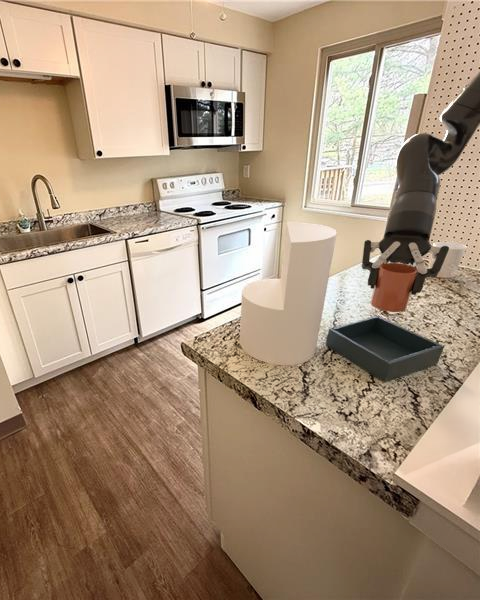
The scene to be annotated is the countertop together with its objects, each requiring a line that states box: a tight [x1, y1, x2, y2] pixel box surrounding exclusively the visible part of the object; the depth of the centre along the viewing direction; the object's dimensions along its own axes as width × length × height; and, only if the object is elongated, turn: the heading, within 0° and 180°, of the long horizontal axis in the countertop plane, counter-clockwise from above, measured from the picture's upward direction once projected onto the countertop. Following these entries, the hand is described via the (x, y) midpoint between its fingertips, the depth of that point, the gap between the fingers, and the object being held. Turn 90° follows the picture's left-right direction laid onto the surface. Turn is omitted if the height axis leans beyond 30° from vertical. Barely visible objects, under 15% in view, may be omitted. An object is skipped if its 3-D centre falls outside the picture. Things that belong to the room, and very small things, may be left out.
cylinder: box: [239, 221, 338, 366], centre depth 70 cm, size 17×17×28 cm
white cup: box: [427, 241, 468, 279], centre depth 101 cm, size 8×8×10 cm
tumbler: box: [370, 262, 418, 313], centre depth 64 cm, size 6×6×8 cm
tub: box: [325, 315, 445, 383], centre depth 68 cm, size 14×14×5 cm
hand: (392, 290), depth 63 cm, fingers closed on tumbler, 6 cm apart
